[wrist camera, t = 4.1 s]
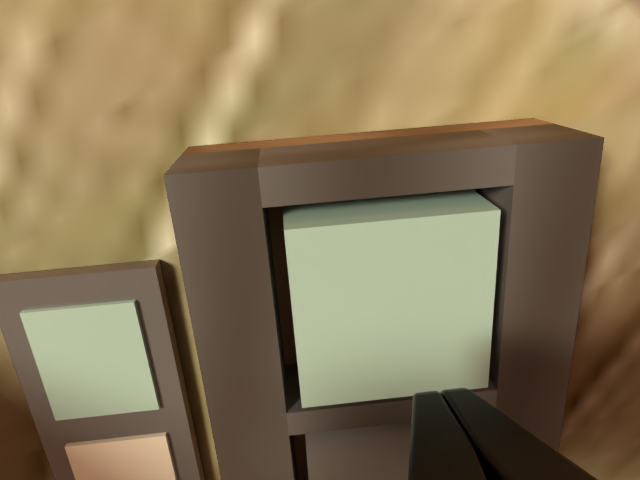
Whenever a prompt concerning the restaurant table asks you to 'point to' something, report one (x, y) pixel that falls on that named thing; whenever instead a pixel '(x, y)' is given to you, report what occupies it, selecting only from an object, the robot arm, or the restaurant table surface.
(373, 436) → the key gray
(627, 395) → the restaurant table surface
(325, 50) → the restaurant table surface
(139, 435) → the tile
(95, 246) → the restaurant table surface
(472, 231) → the key sage green
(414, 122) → the restaurant table surface
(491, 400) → the keypad
